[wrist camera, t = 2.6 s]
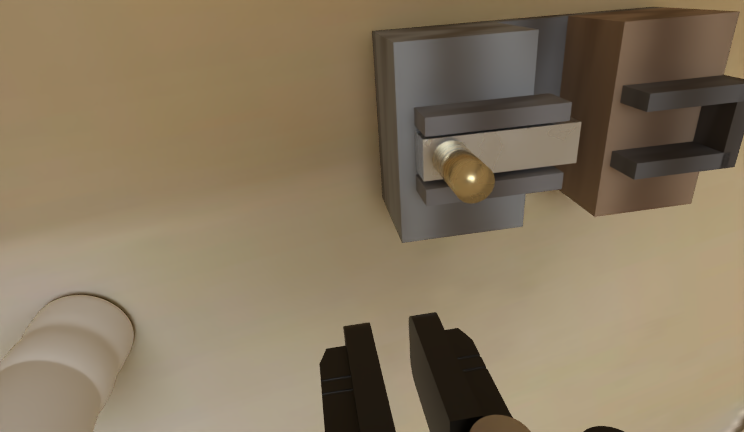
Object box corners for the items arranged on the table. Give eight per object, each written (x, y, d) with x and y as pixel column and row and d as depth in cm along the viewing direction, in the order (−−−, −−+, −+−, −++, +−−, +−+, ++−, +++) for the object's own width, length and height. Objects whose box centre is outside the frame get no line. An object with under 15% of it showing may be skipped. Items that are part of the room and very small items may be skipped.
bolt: (564, 114, 28) (625, 142, 23) (560, 153, 29) (617, 188, 24) (414, 130, 27) (444, 164, 22) (416, 170, 28) (443, 211, 23)
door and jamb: (653, 6, 33) (778, 13, 25) (624, 167, 39) (719, 218, 30) (372, 31, 31) (403, 47, 23) (382, 197, 37) (410, 262, 28)
